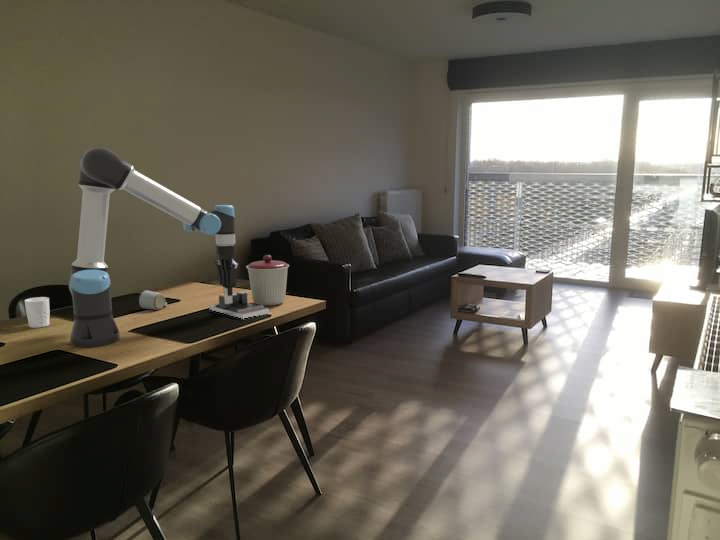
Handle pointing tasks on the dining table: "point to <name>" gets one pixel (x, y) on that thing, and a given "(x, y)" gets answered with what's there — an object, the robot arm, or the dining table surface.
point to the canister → (268, 281)
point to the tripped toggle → (223, 302)
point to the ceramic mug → (152, 300)
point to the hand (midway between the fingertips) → (228, 303)
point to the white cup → (38, 312)
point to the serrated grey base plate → (241, 307)
